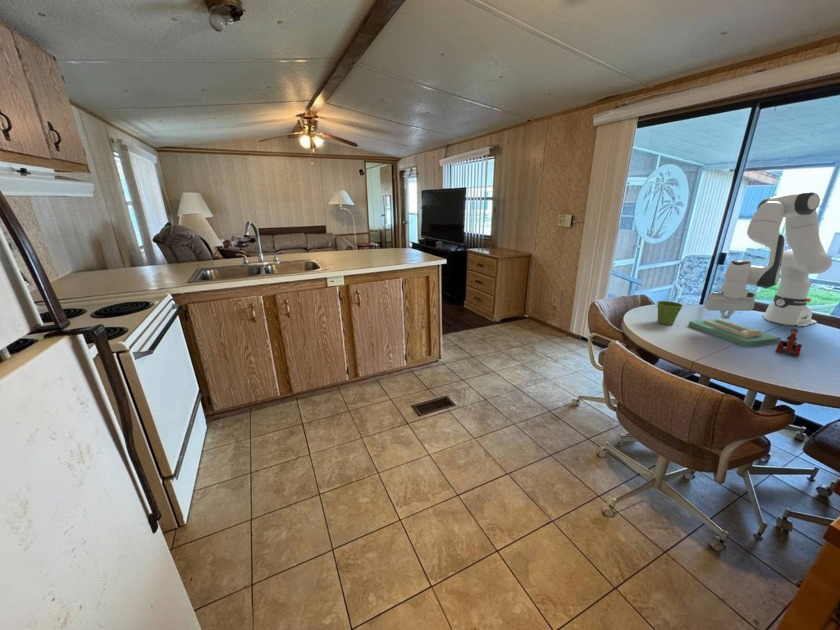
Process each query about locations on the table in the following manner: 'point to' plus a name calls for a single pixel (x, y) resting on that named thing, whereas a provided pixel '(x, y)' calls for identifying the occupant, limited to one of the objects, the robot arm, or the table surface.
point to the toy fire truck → (790, 344)
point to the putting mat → (734, 332)
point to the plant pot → (668, 311)
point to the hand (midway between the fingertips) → (725, 318)
